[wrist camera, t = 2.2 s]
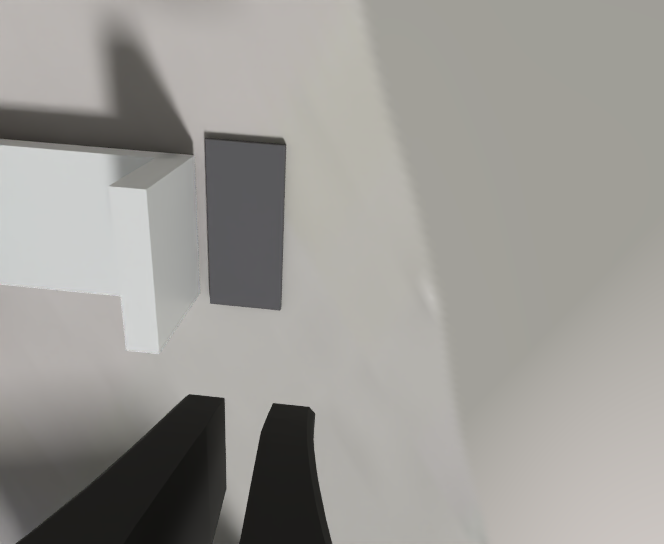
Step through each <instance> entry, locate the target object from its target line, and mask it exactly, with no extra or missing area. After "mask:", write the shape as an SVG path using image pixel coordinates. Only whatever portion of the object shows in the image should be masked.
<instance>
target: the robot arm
mask: <svg viewBox="0 0 664 544" xmlns="http://www.w3.org/2000/svg"><path fill="white" fill-rule="evenodd" d="M314 423H315V413H314V412H313V411H312V410H311V409H310V407H304V406H295V405H285V404H276V403H273V405H272V407H271V409H270V411H269V413H268V416H267V418H266V421H265V423H264V426H263V428H262V431H261V435H260V440H259V445H258V450H257V455H256V460H255V465H254V471H253V476H252V481H251V486H250V492H249V497H248V502H247V507H246V513H245V518H244V523H243V528H242V534H241V539H240V543H239V544H332V541H331V537H330V533H329V529H328V525H327V521H326V517H325V512H324V507H323V502H322V497H321V493H320V488H319V482H318V476H317V470H316V462H315V453H314V440H313V438H314ZM225 491H226V447H225V400H224V398H219V397H210V396H200V395H191V394H189V395H188V396H187V397H185V398H184V399H183V400H182V401H181V402H179V403H178V404H177V405H176V406H175V407H174V408H173V409H172V410H171V411H170V412H169V413H168V414H167V415H166V416H165V417H164V418H163V419H162V420H160V421H159V422H158V423H157V424H156V425H155V426H154V427H153V428H152V429H151V430H150V431H149V432H148V433H147V434H146V435H145V436H143V437H142V438H141V439H140V440H139V441H138V442H137V443H136V444H135V445H134V446H133V447H132V448H130V449H129V450H128V451H127V452H126V453H125V454H124V455H123V456H121V457H120V458H119V459H118V460H117V461H116V462H115V463H114V464H112V465H111V466H110V467H109V468H108V469H107V470H106V471H105V472H103V473H102V474H101V475H100V476H99V477H98V478H97V479H95V480H94V481H93V482H92V483H91V484H90V485H89V486H87V487H86V488H85V489H84V490H83V491H81V492H80V493H79V494H78V495H76V496H75V497H74V498H73V499H71V500H70V501H69V502H68V503H67V504H65V505H64V506H63V507H62V508H60V509H59V510H58V511H57V512H55V513H54V514H53V515H52V516H50V517H49V518H48V519H47V520H46V521H44V522H43V523H42V524H41V525H39V526H38V527H37V528H36V529H34V530H33V531H32V532H30V533H29V534H28V535H26V536H25V537H24V538H22V539H21V540H20V541H18V542H17V543H16V544H212V541H213V538H214V534H215V530H216V527H217V523H218V519H219V515H220V511H221V507H222V503H223V499H224V495H225Z"/></svg>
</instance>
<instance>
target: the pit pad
mask: <svg viewBox="0 0 664 544" xmlns="http://www.w3.org/2000/svg"><path fill="white" fill-rule="evenodd" d="M205 152H206V183H207V215H208V246H209V278H210V304H220V305H231V306H241V307H251V308H261V309H271V310H281V298H282V264H283V231H284V198H285V165H286V145H284V144H272V143H260V142H248V141H236V140H224V139H212V138H206V139H205Z"/></svg>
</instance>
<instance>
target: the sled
mask: <svg viewBox="0 0 664 544" xmlns="http://www.w3.org/2000/svg"><path fill="white" fill-rule="evenodd" d="M0 285H10V286H20V287H30V288H41V289H51V290H61V291H71V292H82V293H92V294H102V295H112V296H120V298H121V307H122V317H123V326H124V335H125V344H126V351H134V352H144V353H154V354H160V352H161V351H162V349H163V348H164V346H165V345H166V343H167V342H168V340H169V339H170V337H171V336H172V334H173V333H174V331H175V330H176V329H177V327H178V326H179V324H180V323H181V321H182V320H183V318H184V317H185V315H186V314H187V312H188V311H189V309H190V308H191V306H192V305H193V303H194V302H195V300H196V299H197V297H198V296H199V294H200V276H199V251H198V226H197V201H196V177H195V155H185V154H174V153H162V152H150V151H138V150H127V149H115V148H103V147H91V146H80V145H68V144H56V143H44V142H33V141H21V140H9V139H0Z"/></svg>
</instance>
